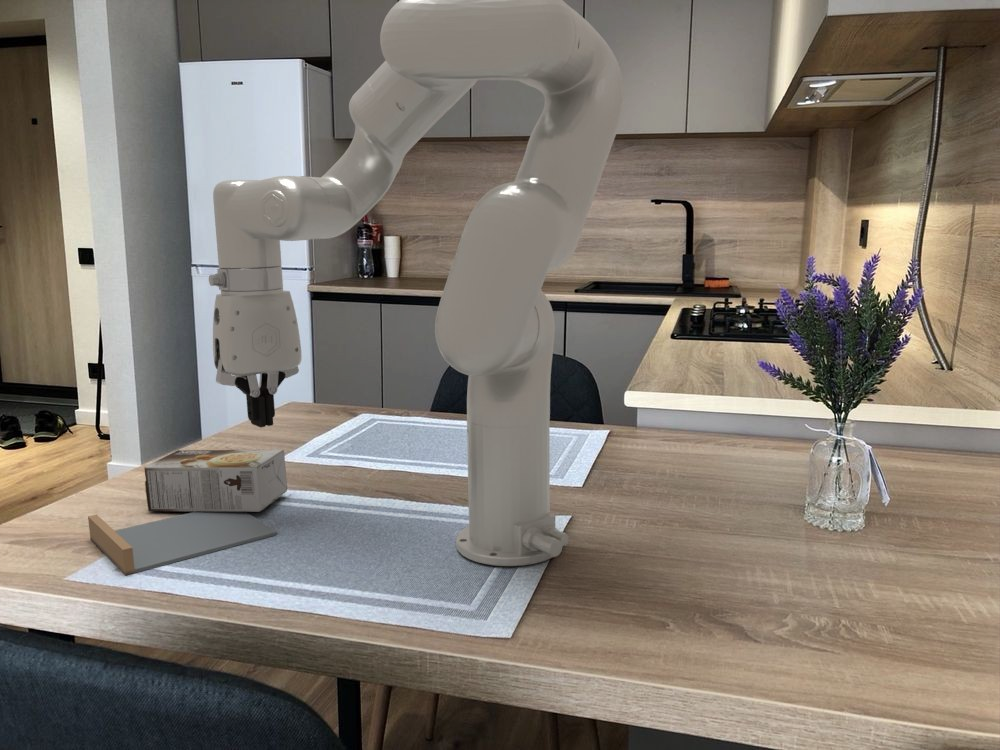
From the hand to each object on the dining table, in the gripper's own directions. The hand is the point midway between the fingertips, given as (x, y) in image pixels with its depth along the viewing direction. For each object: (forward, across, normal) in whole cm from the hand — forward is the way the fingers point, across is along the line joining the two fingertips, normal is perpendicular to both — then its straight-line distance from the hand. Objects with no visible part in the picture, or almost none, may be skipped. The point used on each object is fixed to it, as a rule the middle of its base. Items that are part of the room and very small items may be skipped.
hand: (262, 424), depth 108 cm
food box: (+9, +2, +3) cm, 9 cm away
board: (+12, -11, 0) cm, 17 cm away
